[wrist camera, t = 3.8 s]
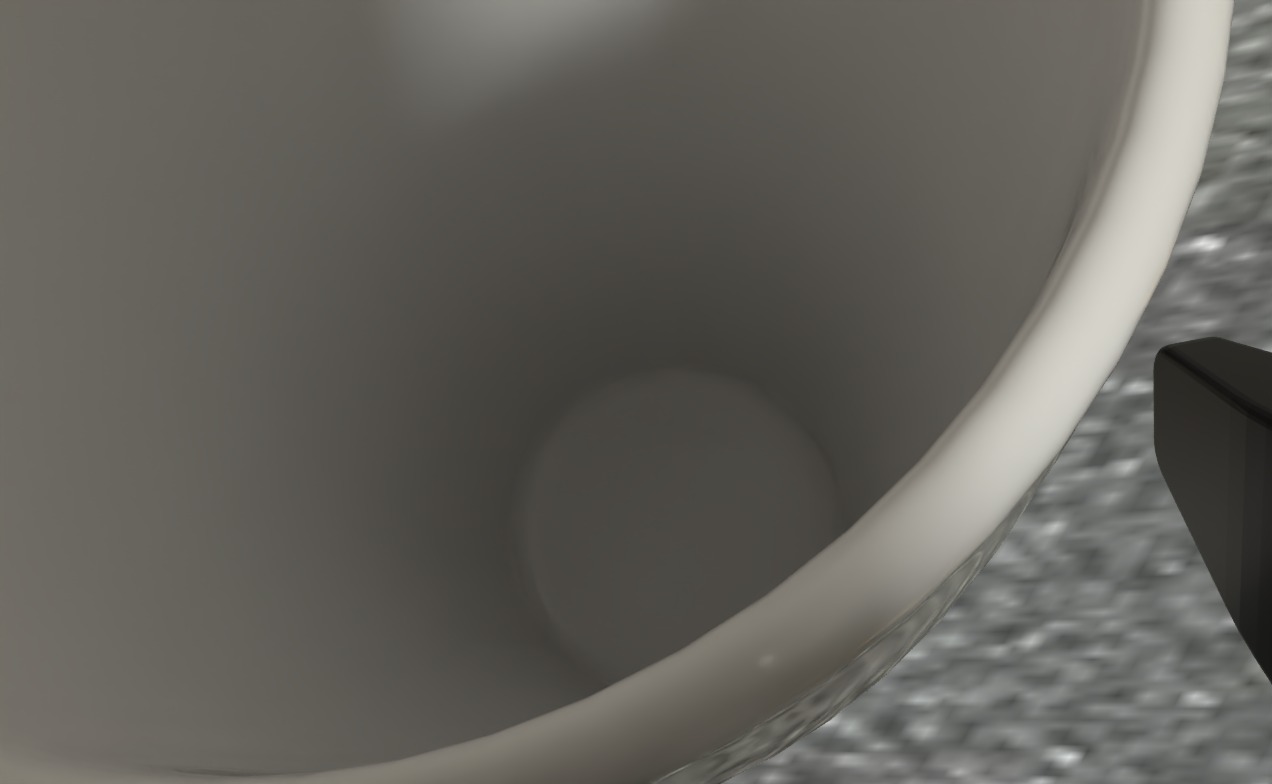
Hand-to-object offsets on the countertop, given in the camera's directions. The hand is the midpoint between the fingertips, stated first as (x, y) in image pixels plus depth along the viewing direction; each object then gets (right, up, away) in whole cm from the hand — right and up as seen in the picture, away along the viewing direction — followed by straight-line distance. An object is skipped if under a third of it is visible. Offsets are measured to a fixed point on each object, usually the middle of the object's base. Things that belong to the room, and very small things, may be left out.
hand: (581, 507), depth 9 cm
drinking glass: (+1, -1, +9) cm, 10 cm away
